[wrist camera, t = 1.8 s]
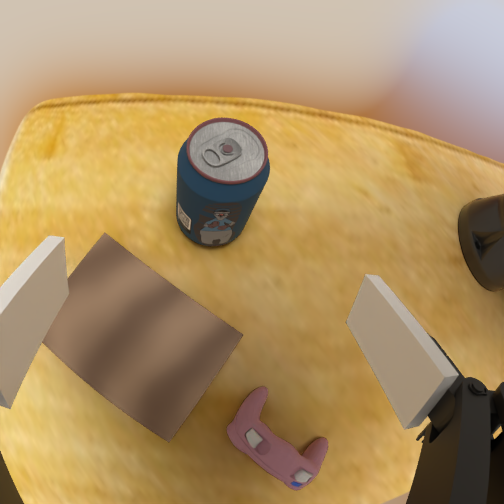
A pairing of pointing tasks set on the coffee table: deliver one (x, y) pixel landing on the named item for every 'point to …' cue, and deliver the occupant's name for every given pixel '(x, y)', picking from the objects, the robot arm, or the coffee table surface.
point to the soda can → (219, 180)
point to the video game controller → (274, 445)
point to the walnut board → (138, 338)
